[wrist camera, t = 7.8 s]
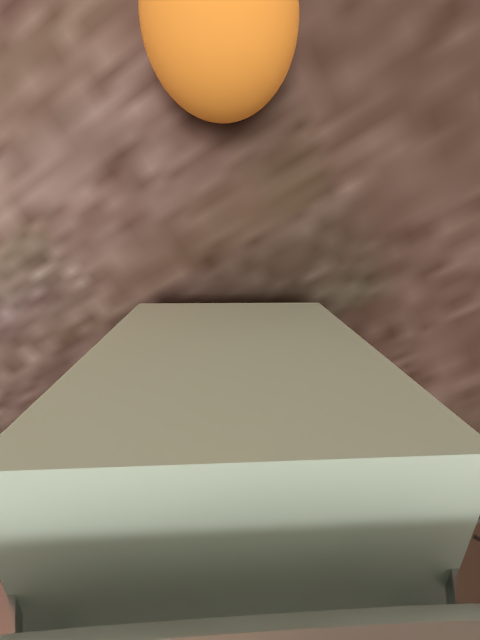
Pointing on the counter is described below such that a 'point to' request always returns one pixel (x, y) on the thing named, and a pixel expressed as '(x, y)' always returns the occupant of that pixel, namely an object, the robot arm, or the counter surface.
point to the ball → (220, 52)
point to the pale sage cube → (232, 474)
